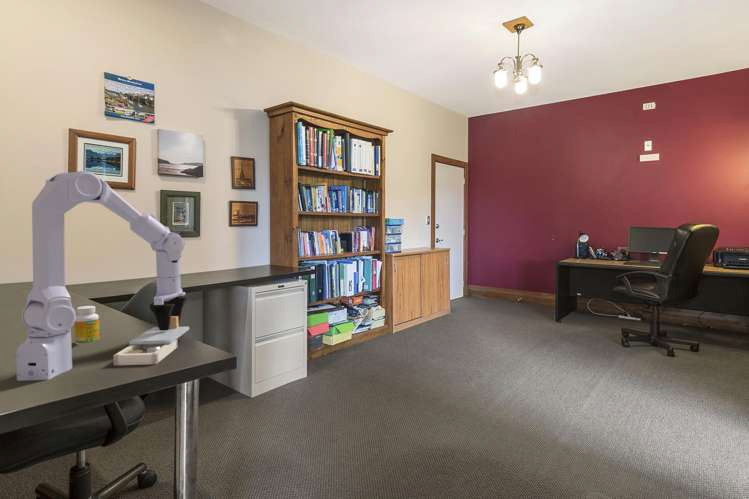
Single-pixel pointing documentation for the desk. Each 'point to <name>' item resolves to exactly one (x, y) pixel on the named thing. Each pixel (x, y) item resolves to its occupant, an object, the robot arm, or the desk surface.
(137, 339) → the lid
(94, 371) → the desk surface
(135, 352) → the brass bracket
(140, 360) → the tub
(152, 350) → the steel bushing
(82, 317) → the supplement bottle
